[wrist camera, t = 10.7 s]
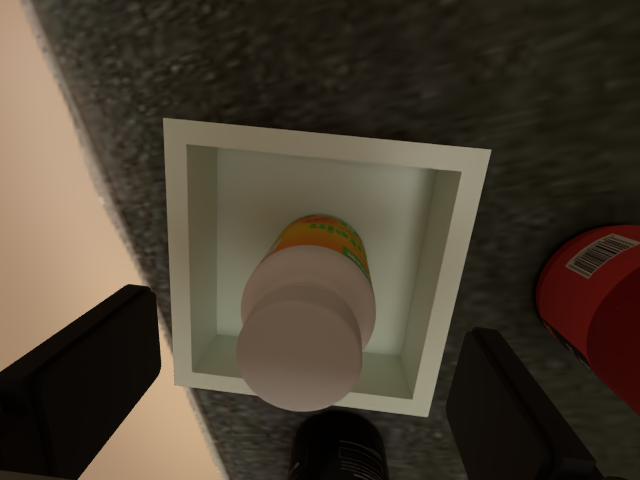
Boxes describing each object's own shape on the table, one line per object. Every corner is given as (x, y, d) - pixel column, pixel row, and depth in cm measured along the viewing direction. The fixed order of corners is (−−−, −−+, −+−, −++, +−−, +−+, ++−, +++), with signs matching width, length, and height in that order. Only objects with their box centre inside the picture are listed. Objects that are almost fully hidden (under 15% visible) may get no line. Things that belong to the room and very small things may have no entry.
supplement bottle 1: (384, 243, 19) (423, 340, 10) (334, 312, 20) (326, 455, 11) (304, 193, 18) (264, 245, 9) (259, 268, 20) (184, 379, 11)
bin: (204, 123, 18) (163, 117, 14) (455, 148, 18) (491, 149, 14) (206, 338, 22) (174, 384, 18) (410, 363, 22) (427, 417, 18)
